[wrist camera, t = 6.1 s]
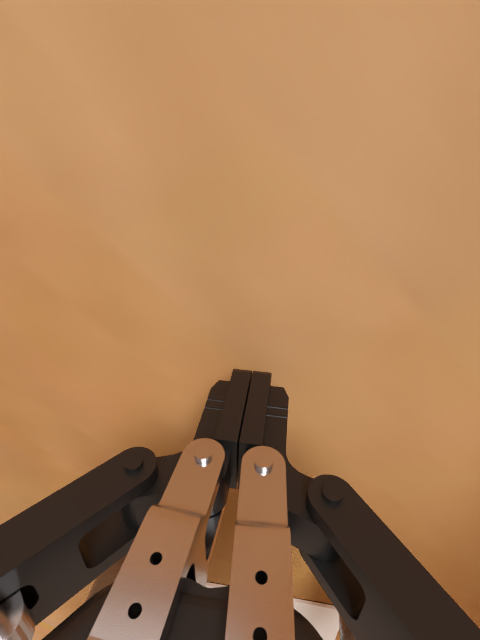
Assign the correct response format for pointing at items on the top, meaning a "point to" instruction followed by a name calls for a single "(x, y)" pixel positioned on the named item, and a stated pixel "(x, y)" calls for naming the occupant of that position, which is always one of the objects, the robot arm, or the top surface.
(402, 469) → the top surface
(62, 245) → the top surface
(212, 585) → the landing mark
